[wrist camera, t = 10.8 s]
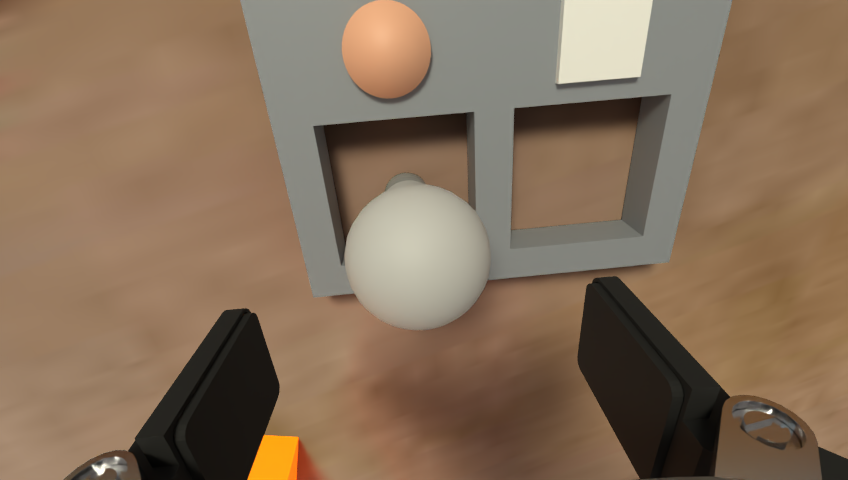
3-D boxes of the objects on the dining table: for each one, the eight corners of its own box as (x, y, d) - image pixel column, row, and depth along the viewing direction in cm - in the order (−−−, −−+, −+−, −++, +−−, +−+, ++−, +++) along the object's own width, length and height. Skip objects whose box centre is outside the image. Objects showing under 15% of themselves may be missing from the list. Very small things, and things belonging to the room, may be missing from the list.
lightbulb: (463, 143, 22) (529, 231, 13) (446, 236, 25) (490, 364, 16) (356, 131, 21) (341, 217, 12) (351, 229, 24) (336, 362, 15)
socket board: (704, -44, 19) (753, -59, 16) (645, 243, 26) (673, 265, 24) (255, -8, 19) (233, -17, 16) (320, 275, 26) (312, 301, 23)
